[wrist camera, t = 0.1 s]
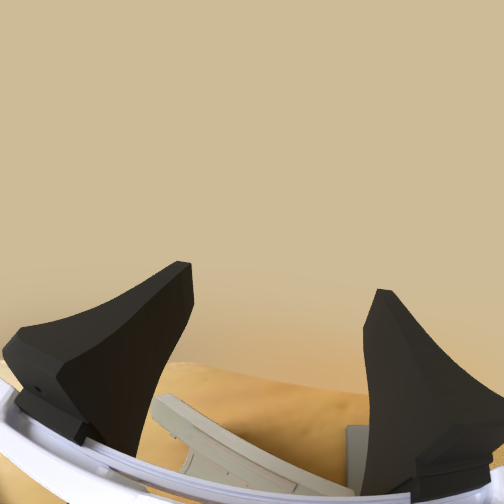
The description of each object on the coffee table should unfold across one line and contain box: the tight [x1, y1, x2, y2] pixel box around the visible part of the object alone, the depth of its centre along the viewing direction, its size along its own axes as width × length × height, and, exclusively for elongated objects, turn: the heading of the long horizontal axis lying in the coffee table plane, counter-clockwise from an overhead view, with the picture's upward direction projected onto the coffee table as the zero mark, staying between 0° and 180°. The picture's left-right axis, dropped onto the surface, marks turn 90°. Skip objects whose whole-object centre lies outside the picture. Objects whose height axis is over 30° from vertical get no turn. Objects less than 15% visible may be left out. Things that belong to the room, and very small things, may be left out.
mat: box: [346, 425, 369, 496], centre depth 17 cm, size 20×16×1 cm
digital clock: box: [150, 394, 355, 504], centre depth 18 cm, size 16×9×11 cm, turn 45°
